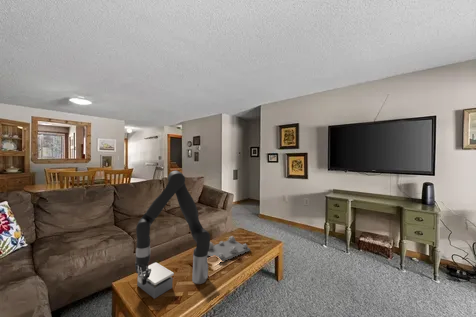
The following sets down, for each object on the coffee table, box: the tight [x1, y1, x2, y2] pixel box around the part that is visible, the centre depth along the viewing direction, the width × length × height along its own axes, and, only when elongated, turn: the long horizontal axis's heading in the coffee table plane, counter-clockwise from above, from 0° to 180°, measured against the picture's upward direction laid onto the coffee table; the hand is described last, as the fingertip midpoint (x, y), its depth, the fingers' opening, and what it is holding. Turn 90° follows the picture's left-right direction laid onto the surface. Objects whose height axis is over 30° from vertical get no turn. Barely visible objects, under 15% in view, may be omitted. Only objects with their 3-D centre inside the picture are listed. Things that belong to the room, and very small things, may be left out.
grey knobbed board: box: [208, 235, 251, 262], centre depth 173 cm, size 35×26×10 cm
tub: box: [136, 276, 174, 300], centre depth 124 cm, size 12×18×6 cm, turn 55°
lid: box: [136, 262, 175, 285], centre depth 122 cm, size 17×19×4 cm
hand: (142, 282), depth 117 cm, fingers closed on lid, 3 cm apart
